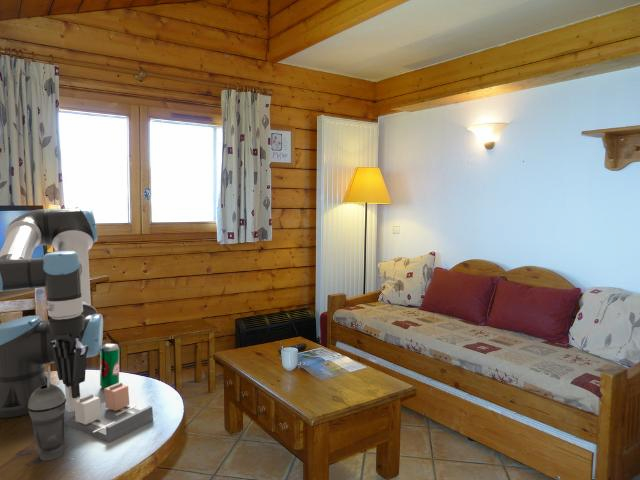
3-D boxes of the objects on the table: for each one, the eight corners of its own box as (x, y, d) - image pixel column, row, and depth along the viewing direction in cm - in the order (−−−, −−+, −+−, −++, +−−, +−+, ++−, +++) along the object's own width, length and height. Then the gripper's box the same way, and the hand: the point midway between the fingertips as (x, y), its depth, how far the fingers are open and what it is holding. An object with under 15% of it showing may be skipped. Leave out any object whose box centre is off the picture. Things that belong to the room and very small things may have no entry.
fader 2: (105, 407, 123) (104, 386, 123) (119, 401, 127) (118, 380, 126) (115, 410, 121) (113, 389, 121) (129, 404, 124) (127, 383, 124)
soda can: (116, 388, 139) (117, 347, 139) (98, 389, 138) (98, 348, 138) (120, 382, 144) (120, 342, 144) (102, 383, 143) (102, 343, 143)
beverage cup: (45, 446, 109) (37, 360, 107) (77, 445, 109) (69, 359, 107) (24, 464, 102) (15, 372, 100) (58, 464, 102) (50, 372, 99)
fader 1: (75, 420, 117) (73, 398, 116) (91, 413, 120) (89, 392, 119) (85, 424, 114) (83, 401, 114) (101, 417, 118) (99, 395, 117)
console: (63, 426, 118) (62, 412, 118) (113, 404, 130) (112, 391, 129) (106, 444, 109) (105, 429, 109) (155, 418, 121) (154, 405, 120)
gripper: (35, 316, 118) (44, 409, 120) (65, 322, 111) (74, 421, 113) (66, 309, 124) (73, 398, 126) (96, 314, 117) (103, 408, 119)
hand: (74, 409), depth 120 cm, fingers closed
